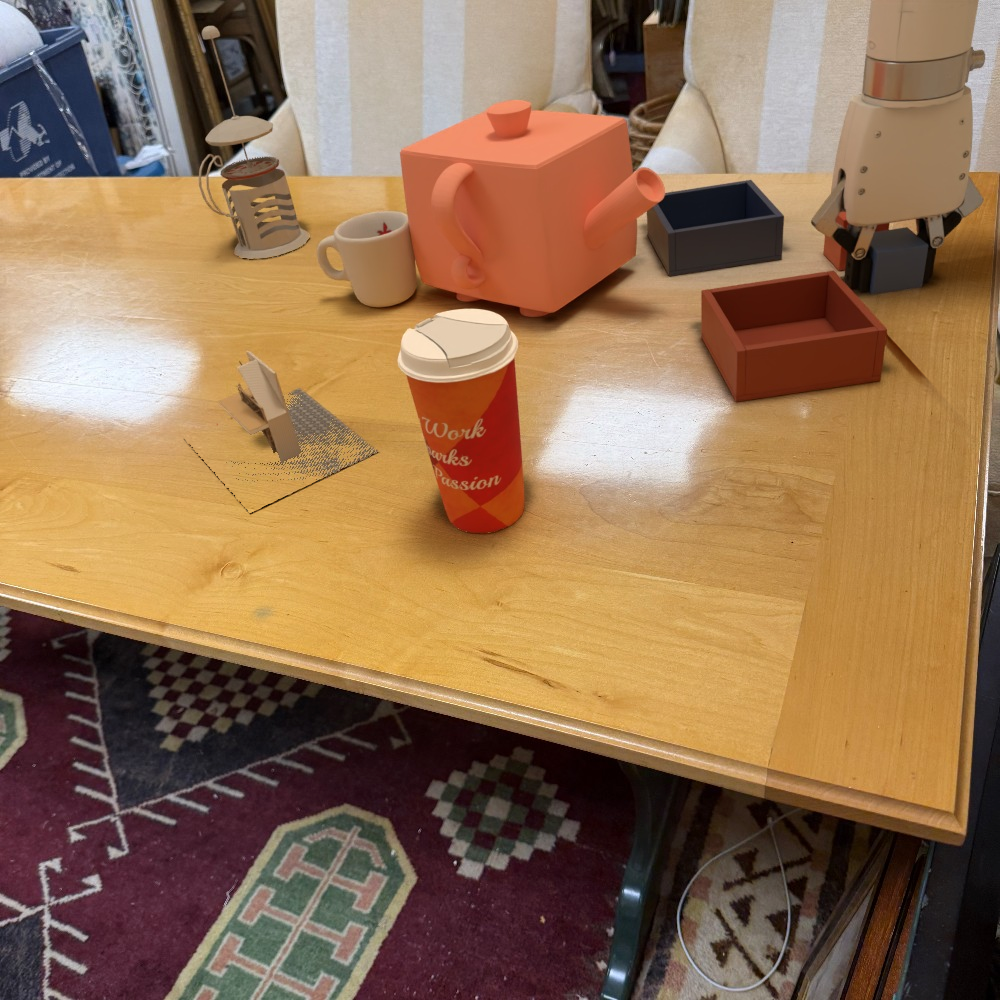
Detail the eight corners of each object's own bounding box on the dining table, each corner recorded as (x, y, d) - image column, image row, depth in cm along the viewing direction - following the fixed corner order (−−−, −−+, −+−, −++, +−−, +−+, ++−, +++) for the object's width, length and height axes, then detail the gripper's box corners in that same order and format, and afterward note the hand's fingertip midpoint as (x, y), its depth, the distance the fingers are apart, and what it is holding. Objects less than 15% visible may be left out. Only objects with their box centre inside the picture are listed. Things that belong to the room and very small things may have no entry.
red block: (867, 247, 91) (872, 197, 88) (884, 264, 87) (891, 213, 84) (823, 253, 91) (827, 204, 88) (838, 270, 88) (843, 220, 85)
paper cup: (411, 516, 65) (368, 342, 57) (487, 465, 69) (458, 295, 61) (485, 560, 60) (451, 376, 52) (563, 502, 64) (543, 322, 56)
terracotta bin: (829, 318, 80) (834, 270, 78) (880, 380, 71) (887, 329, 69) (701, 337, 81) (701, 290, 78) (735, 402, 72) (737, 351, 69)
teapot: (722, 266, 92) (725, 77, 81) (595, 366, 79) (579, 158, 68) (528, 233, 106) (509, 69, 95) (394, 313, 93) (354, 134, 83)
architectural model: (264, 471, 73) (235, 390, 68) (232, 438, 78) (203, 361, 73) (302, 453, 74) (276, 373, 70) (268, 422, 79) (242, 345, 74)
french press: (326, 236, 114) (269, 16, 100) (250, 271, 108) (177, 42, 93) (281, 224, 120) (222, 15, 106) (207, 256, 114) (132, 39, 99)
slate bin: (749, 220, 100) (751, 179, 98) (781, 259, 91) (784, 215, 89) (647, 235, 101) (646, 195, 98) (669, 276, 92) (668, 233, 89)
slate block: (900, 278, 85) (907, 226, 82) (920, 298, 81) (928, 244, 78) (852, 286, 85) (858, 234, 82) (871, 305, 81) (877, 252, 78)
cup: (315, 315, 96) (295, 242, 91) (343, 283, 102) (325, 213, 97) (411, 314, 93) (395, 238, 88) (434, 280, 99) (420, 208, 94)
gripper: (997, 49, 75) (960, 260, 85) (792, 82, 75) (780, 287, 86) (1047, 69, 69) (1000, 293, 79) (823, 104, 69) (806, 322, 80)
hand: (886, 288), depth 83 cm, fingers open, 4 cm apart
